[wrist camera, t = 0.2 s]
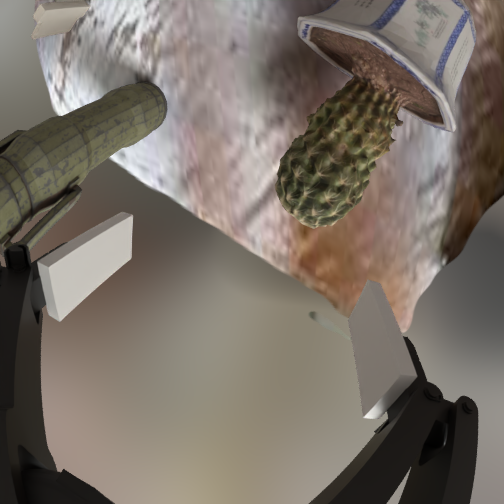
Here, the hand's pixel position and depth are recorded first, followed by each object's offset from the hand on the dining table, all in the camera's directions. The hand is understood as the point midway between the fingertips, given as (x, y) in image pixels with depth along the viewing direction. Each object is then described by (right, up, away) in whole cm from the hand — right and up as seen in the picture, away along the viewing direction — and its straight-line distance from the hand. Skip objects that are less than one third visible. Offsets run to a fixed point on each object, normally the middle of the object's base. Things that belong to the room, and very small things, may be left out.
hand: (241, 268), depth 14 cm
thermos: (-16, +24, +22) cm, 36 cm away
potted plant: (+14, +23, +14) cm, 30 cm away
